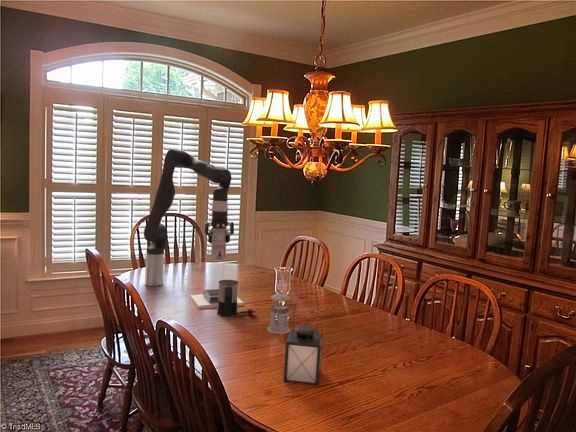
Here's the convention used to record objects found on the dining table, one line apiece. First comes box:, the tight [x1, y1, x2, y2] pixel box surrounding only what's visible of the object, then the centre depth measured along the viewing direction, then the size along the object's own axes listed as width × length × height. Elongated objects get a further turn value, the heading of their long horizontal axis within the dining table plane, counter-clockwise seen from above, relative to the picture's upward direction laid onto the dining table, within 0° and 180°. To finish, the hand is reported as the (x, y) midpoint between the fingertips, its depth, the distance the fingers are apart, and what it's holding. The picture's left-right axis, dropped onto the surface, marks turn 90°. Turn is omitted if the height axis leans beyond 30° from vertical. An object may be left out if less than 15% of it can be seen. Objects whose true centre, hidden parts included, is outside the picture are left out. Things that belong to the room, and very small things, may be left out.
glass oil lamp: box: [266, 270, 291, 335], centre depth 193 cm, size 10×12×25 cm
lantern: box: [283, 292, 324, 386], centre depth 151 cm, size 11×11×28 cm
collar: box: [202, 288, 219, 303], centre depth 229 cm, size 10×14×3 cm
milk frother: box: [216, 279, 256, 317], centre depth 211 cm, size 14×16×15 cm
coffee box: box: [210, 226, 228, 261], centre depth 229 cm, size 9×6×16 cm
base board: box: [189, 293, 245, 310], centre depth 230 cm, size 22×18×2 cm
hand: (219, 243), depth 229 cm, fingers closed on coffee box, 8 cm apart
